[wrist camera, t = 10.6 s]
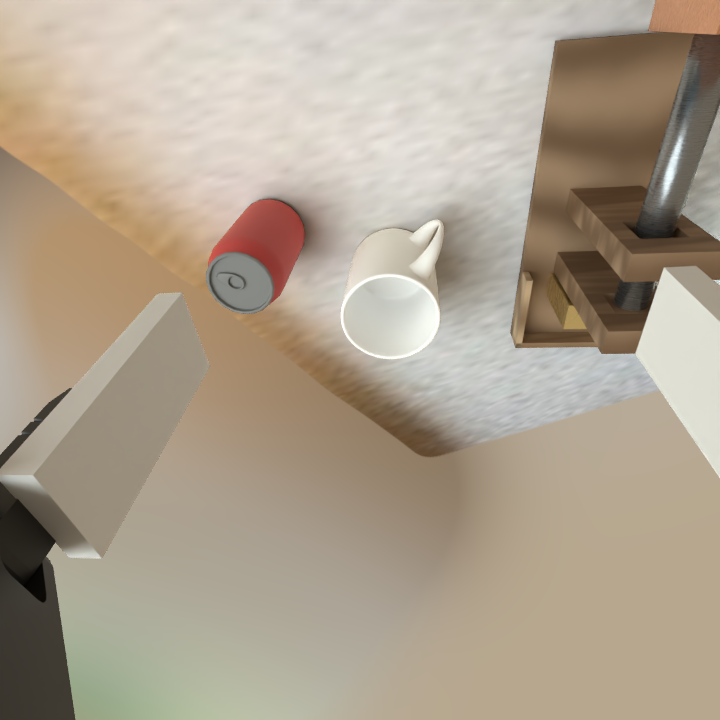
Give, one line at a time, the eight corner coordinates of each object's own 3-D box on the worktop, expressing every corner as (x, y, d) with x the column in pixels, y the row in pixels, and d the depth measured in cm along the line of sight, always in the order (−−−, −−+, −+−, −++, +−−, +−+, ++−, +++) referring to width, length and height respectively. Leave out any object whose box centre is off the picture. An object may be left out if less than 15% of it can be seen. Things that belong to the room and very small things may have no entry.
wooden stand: (555, 40, 35) (632, 53, 23) (723, 27, 33) (898, 32, 22) (510, 332, 51) (542, 428, 39) (622, 330, 50) (690, 429, 38)
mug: (474, 229, 44) (490, 280, 36) (401, 314, 51) (400, 374, 42) (403, 178, 42) (403, 219, 33) (337, 274, 48) (322, 328, 40)
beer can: (249, 186, 43) (205, 233, 34) (314, 212, 44) (289, 265, 35) (236, 246, 47) (194, 303, 38) (296, 268, 48) (269, 330, 39)
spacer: (550, 272, 45) (568, 305, 40) (618, 270, 44) (646, 304, 39) (546, 294, 47) (563, 329, 42) (612, 293, 46) (638, 328, 41)
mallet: (669, -54, 26) (751, -76, 20) (743, -61, 26) (851, -86, 20) (585, 278, 39) (620, 327, 33) (634, 276, 39) (678, 327, 33)
